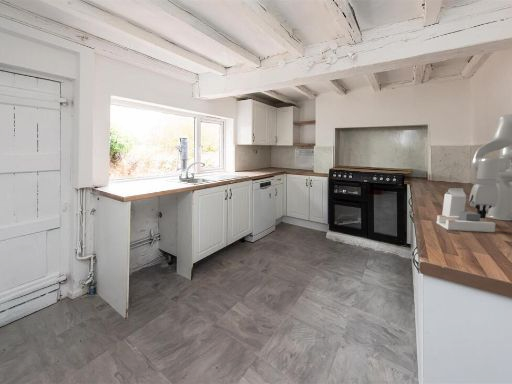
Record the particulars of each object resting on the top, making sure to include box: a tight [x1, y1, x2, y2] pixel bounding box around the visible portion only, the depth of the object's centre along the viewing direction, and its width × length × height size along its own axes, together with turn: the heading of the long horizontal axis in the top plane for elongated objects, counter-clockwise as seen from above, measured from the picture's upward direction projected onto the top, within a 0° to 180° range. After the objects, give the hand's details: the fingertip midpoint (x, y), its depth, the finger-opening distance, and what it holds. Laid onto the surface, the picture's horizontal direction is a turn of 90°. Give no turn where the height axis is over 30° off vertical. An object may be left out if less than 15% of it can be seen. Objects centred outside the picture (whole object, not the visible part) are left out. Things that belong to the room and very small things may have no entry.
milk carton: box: [441, 187, 467, 216], centre depth 136 cm, size 7×7×19 cm
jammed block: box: [459, 210, 481, 221], centre depth 124 cm, size 6×6×7 cm
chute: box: [436, 214, 496, 233], centre depth 125 cm, size 20×12×5 cm, turn 77°
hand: (480, 217), depth 123 cm, fingers closed
